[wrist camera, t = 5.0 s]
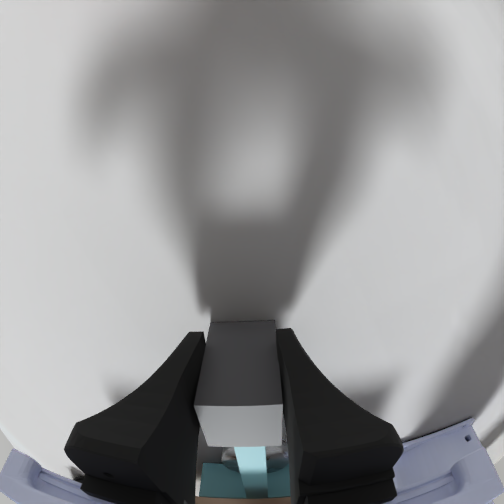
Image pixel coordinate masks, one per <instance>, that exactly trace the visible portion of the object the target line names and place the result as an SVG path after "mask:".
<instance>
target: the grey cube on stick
mask: <svg viewBox="0 0 504 504" xmlns="http://www.w3.org/2000/svg"><path fill="white" fill-rule="evenodd" d="M194 408H195V411H196V414H197V417H198V419H199V422H200V425H201V428H202V431H203V434H204V436H205V439H206V442H207V444H208V446H215V447H234V450H235V454H236V458H237V462H238V466H239V470H240V473H239V472H235V471H232V470H230V469H228V468H226V467H225V466H224V465H223V464H217V463H203V468H202V476H201V484H200V492H199V496H200V497H210V498H229V499H263V498H283V497H291V495H290V475H289V464H288V465H287V466H286V467H285V468H283V469H281V470H278V471H276V472H272V473H267V464H266V446H281V445H282V417H283V401H282V390H281V379H280V369H279V362H278V356H277V346H276V329H275V320H270V321H249V322H218V323H210V327H209V332H208V337H207V342H206V347H205V352H204V356H203V361H202V366H201V371H200V376H199V381H198V386H197V391H196V396H195V402H194Z"/></svg>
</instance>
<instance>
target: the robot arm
mask: <svg viewBox="0 0 504 504" xmlns="http://www.w3.org/2000/svg"><path fill="white" fill-rule="evenodd" d="M276 346H277V356H278V362H279V369H280V379H281V390H282V401H283V414H284V420H285V425H286V432H287V444H288V459H289V475H290V495H291V504H494V502H493V499H495V498H496V497H498V496H499V495H500V494H502V493H503V492H504V488H503V485H502V483H501V480H500V478H499V476H498V474H497V471H496V469H495V467H494V465H493V463H492V461H491V459H490V457H489V455H488V453H487V451H486V449H485V447H483V446H482V445H481V443H480V441H479V439H478V437H477V435H476V433H475V431H474V429H473V427H472V426H471V425H472V424H473V422H474V419H473V418H470V419H468V420H466V421H464V422H461V423H459V424H456V425H454V426H451V427H449V428H446V429H444V430H441V431H438V432H436V433H433V434H430V435H427V436H424V437H421V438H418V439H415V440H412V441H408V442H405V443H402V442H401V439H400V437H399V435H398V434H397V432H396V430H395V428H394V427H393V425H392V424H390V423H388V422H386V421H384V420H382V419H380V418H378V417H376V416H374V415H372V414H371V413H369V412H367V411H366V410H364V409H363V408H361V407H360V406H358V405H357V404H356V403H354V402H353V401H352V400H350V399H349V398H348V397H346V396H345V395H344V394H343V393H342V392H341V391H339V390H338V389H337V388H336V387H335V386H334V385H333V384H332V383H331V382H330V381H329V380H328V379H327V378H326V377H325V376H324V375H323V374H322V372H321V371H320V370H319V369H318V368H317V367H316V365H315V364H314V363H313V362H312V360H311V359H310V357H309V356H308V355H307V353H306V352H305V350H304V349H303V347H302V346H301V344H300V343H299V341H298V339H297V337H296V335H295V334H294V331H293V330H292V329H291V328H286V329H276ZM205 347H206V343H205V338H204V333H203V332H189V333H188V334H187V335H186V336H185V338H184V339H183V340H182V341H181V343H180V344H179V345H178V347H177V348H176V349H175V350H174V352H173V353H172V354H171V355H170V356H169V357H168V359H167V360H166V361H165V362H164V363H163V364H162V365H161V366H160V367H159V369H158V370H157V371H156V372H155V373H154V374H153V375H152V376H151V377H150V378H149V379H148V380H147V381H145V382H144V383H143V384H142V385H141V386H140V387H138V388H137V389H136V390H135V391H133V392H132V393H131V394H129V395H128V396H126V397H125V398H124V399H122V400H121V401H119V402H118V403H116V404H114V405H113V406H111V407H109V408H108V409H106V410H104V411H102V412H100V413H98V414H96V415H94V416H91V417H89V418H87V419H84V420H82V421H80V422H77V423H76V424H75V426H74V428H73V430H72V432H71V434H70V436H69V439H68V441H67V443H66V445H65V448H64V450H65V453H66V455H67V456H68V458H69V459H70V460H71V461H72V462H73V463H74V464H75V465H76V466H77V467H78V468H79V469H80V470H82V471H83V472H84V473H85V476H84V479H83V482H82V483H79V482H76V481H74V480H71V479H68V478H66V477H63V476H61V475H58V474H56V473H53V472H51V471H49V470H47V469H44V468H42V467H41V465H40V464H39V463H38V462H37V461H35V460H34V459H33V458H31V457H30V456H28V455H26V454H24V453H22V452H20V451H18V450H16V449H12V451H11V453H10V455H9V457H8V459H7V461H6V463H5V465H4V467H3V469H2V471H1V473H0V492H2V493H3V494H4V495H6V496H7V497H9V498H10V499H12V500H13V501H14V502H16V503H17V504H195V482H196V460H197V446H198V435H199V429H200V422H199V419H198V417H197V414H196V411H195V408H194V402H195V396H196V391H197V386H198V381H199V376H200V371H201V366H202V361H203V356H204V352H205Z"/></svg>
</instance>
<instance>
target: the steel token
mask: <svg viewBox="0 0 504 504" xmlns="http://www.w3.org/2000/svg"><path fill="white" fill-rule="evenodd" d="M221 461H222V464H223V465H224V466H225V467H226V468H228V469H230V470H232V471H235V472H239V473H240V470H239V466H238V462H237V458H236V454H235V450H234V447H223V448H222V460H221ZM266 464H267V473H272V472H276V471H278V470H281V469H283V468H285V467H286V466H287V465H288V464H289V459H288V445H287V443H285V442H284V441H283V440H282V445H281V446H266Z"/></svg>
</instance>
